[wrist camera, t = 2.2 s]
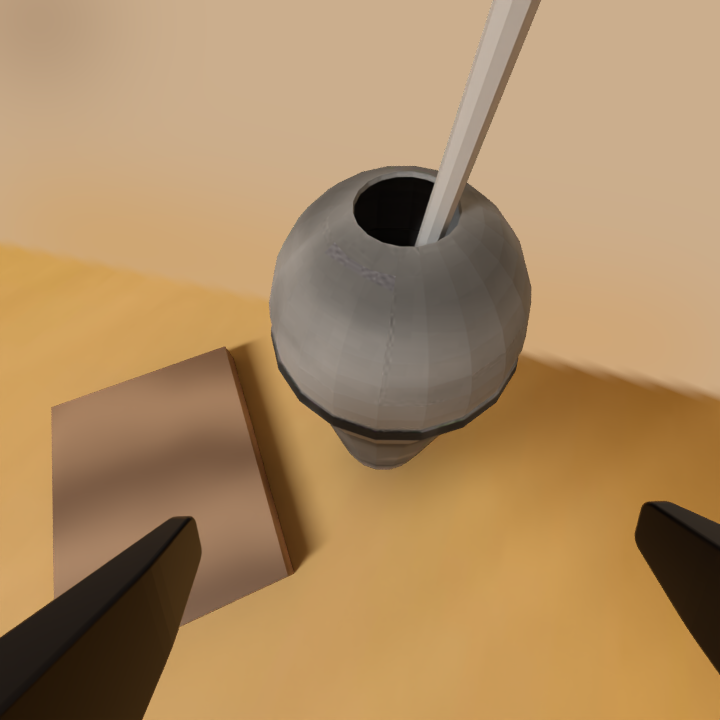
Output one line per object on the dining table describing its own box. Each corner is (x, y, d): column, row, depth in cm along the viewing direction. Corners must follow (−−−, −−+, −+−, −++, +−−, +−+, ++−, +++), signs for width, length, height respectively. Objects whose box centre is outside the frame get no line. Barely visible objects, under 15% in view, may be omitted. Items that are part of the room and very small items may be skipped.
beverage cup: (356, 355, 23) (313, -282, 5) (464, 404, 21) (935, -291, 4) (295, 456, 20) (-251, -193, 2) (414, 522, 18) (1541, -24, 1)
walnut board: (294, 573, 18) (287, 575, 16) (81, 672, 16) (55, 684, 15) (233, 357, 23) (224, 346, 22) (71, 415, 22) (51, 407, 20)
